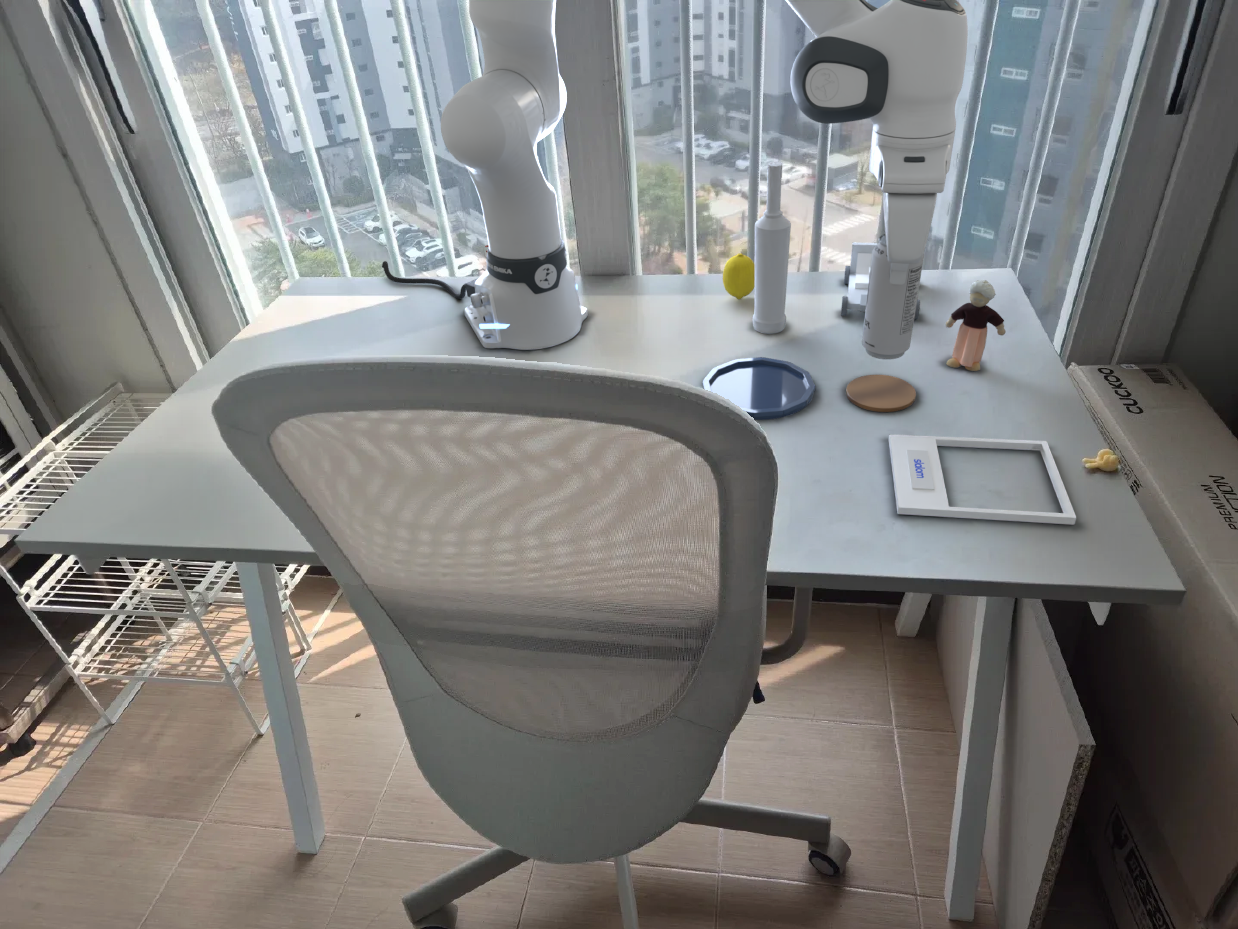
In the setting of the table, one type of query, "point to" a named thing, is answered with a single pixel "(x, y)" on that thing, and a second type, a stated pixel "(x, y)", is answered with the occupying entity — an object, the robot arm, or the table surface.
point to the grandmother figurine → (974, 326)
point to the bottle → (771, 258)
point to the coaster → (881, 393)
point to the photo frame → (926, 489)
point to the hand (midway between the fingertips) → (895, 270)
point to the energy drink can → (889, 307)
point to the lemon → (739, 276)
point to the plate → (762, 386)
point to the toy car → (860, 279)
